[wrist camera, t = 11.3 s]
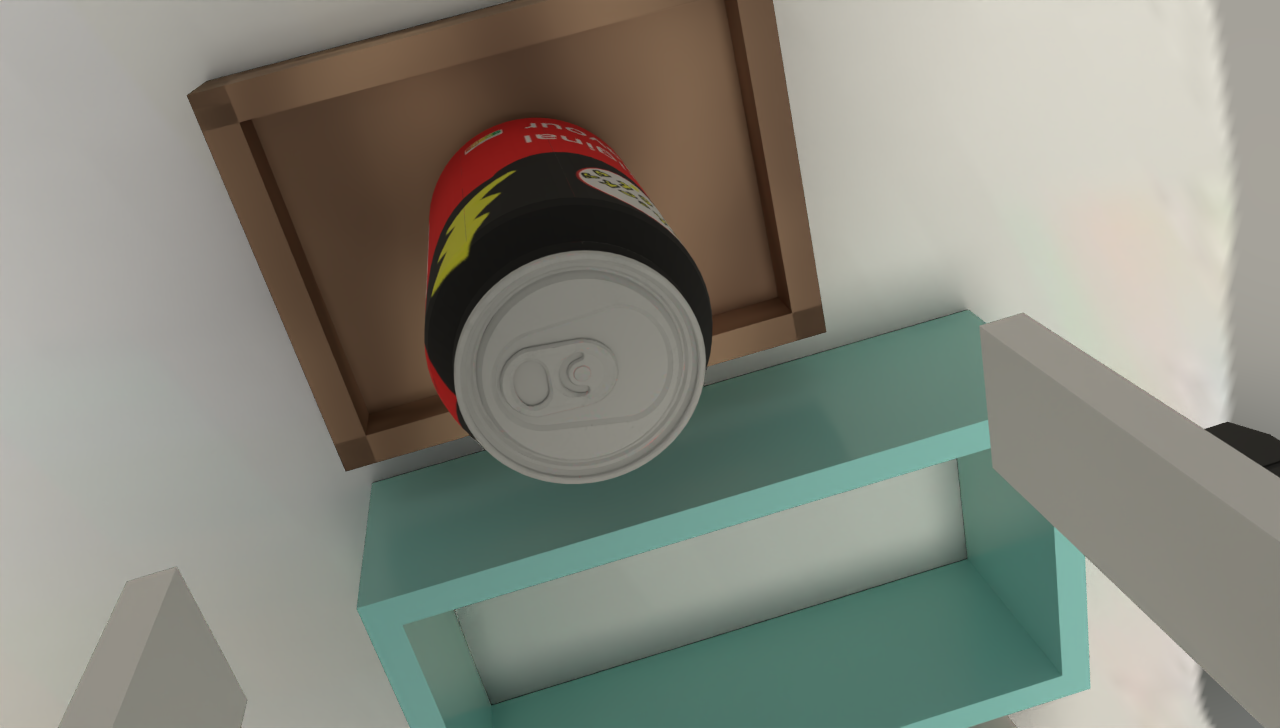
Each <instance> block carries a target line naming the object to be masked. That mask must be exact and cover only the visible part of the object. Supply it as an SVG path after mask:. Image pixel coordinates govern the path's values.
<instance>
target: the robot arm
mask: <svg viewBox="0 0 1280 728" xmlns="http://www.w3.org/2000/svg"><path fill="white" fill-rule="evenodd" d="M979 328H980V339H981V349H982V360H983V370H984V381H985V392H986V402H987V413H988V424H989V434H990V445H991V455H992V466H993V469H994V470H996V471H997V472H998V473H999V474H1000V475H1001V476H1002V477H1003V478H1004V479H1005V480H1006V481H1007V482H1008V483H1009V484H1010V485H1011V486H1012V487H1013V488H1014V489H1015V490H1016V491H1017V492H1019V493H1020V494H1021V495H1022V496H1023V497H1024V498H1025V499H1026V500H1027V501H1028V502H1029V503H1030V504H1031V505H1032V506H1033V507H1034V508H1035V509H1036V510H1037V511H1038V512H1039V513H1041V514H1042V515H1043V516H1044V517H1045V518H1046V519H1047V520H1048V521H1049V522H1050V523H1051V524H1052V525H1053V526H1054V527H1055V528H1056V529H1057V530H1058V531H1059V532H1060V533H1061V534H1062V535H1064V536H1065V537H1066V538H1067V539H1068V540H1069V541H1070V542H1071V543H1072V544H1073V545H1074V546H1075V547H1076V548H1077V549H1078V550H1079V551H1080V552H1081V553H1082V554H1083V555H1084V556H1086V557H1087V558H1088V559H1089V560H1090V561H1091V562H1092V563H1093V564H1094V565H1095V566H1096V567H1097V568H1098V569H1099V570H1100V571H1101V572H1102V573H1103V574H1104V575H1105V576H1106V577H1107V578H1109V579H1110V580H1111V581H1112V582H1113V583H1114V584H1115V585H1116V586H1117V587H1118V588H1119V589H1120V590H1121V591H1122V592H1123V593H1124V594H1125V595H1126V596H1127V597H1128V598H1129V599H1131V600H1132V601H1133V602H1134V603H1135V604H1136V605H1137V606H1138V607H1139V608H1140V609H1141V610H1142V611H1143V612H1144V613H1145V614H1146V615H1147V616H1148V617H1149V618H1150V619H1151V620H1152V621H1154V622H1155V623H1156V624H1157V625H1158V626H1159V627H1160V628H1161V629H1162V630H1163V631H1164V632H1165V633H1166V634H1167V635H1168V636H1169V637H1170V638H1171V639H1172V640H1173V641H1174V642H1176V643H1177V644H1178V645H1179V646H1180V647H1181V648H1182V649H1183V650H1184V651H1185V652H1186V653H1187V654H1188V655H1189V656H1190V657H1191V658H1192V659H1193V660H1194V661H1195V662H1196V663H1197V664H1199V665H1200V666H1201V667H1202V668H1203V669H1204V670H1205V671H1206V672H1207V673H1208V674H1209V675H1210V676H1211V677H1212V678H1213V679H1214V680H1215V681H1216V682H1217V683H1218V684H1219V685H1221V686H1222V687H1223V688H1224V689H1225V690H1226V691H1227V692H1228V693H1229V694H1230V695H1231V696H1232V697H1233V698H1234V699H1235V700H1236V701H1237V702H1238V703H1239V704H1240V705H1241V706H1243V707H1244V708H1245V709H1246V710H1247V711H1248V712H1249V713H1250V714H1251V715H1252V716H1253V717H1254V718H1255V719H1256V720H1257V721H1258V722H1259V723H1260V724H1261V725H1263V727H1265V728H1280V440H1278V439H1276V438H1275V437H1273V436H1271V435H1270V434H1266V433H1263V432H1259V431H1256V430H1253V429H1249V428H1246V427H1243V426H1240V425H1236V424H1233V423H1230V422H1226V423H1222V424H1219V425H1216V426H1213V427H1210V428H1206V429H1203V428H1202V427H1200V426H1198V425H1197V424H1195V423H1194V422H1192V421H1191V420H1189V419H1188V418H1186V417H1184V416H1183V415H1181V414H1180V413H1178V412H1177V411H1175V410H1174V409H1172V408H1170V407H1169V406H1167V405H1166V404H1164V403H1163V402H1161V401H1160V400H1158V399H1156V398H1155V397H1153V396H1152V395H1150V394H1149V393H1147V392H1146V391H1144V390H1143V389H1141V388H1139V387H1138V386H1136V385H1135V384H1133V383H1132V382H1130V381H1129V380H1127V379H1125V378H1124V377H1122V376H1121V375H1119V374H1118V373H1116V372H1115V371H1113V370H1111V369H1110V368H1108V367H1107V366H1105V365H1104V364H1102V363H1101V362H1099V361H1097V360H1096V359H1094V358H1093V357H1091V356H1090V355H1088V354H1087V353H1085V352H1083V351H1082V350H1080V349H1079V348H1077V347H1076V346H1074V345H1073V344H1071V343H1069V342H1068V341H1066V340H1065V339H1063V338H1062V337H1060V336H1059V335H1057V334H1056V333H1054V332H1052V331H1051V330H1049V329H1048V328H1046V327H1045V326H1043V325H1042V324H1040V323H1038V322H1037V321H1035V320H1034V319H1032V318H1031V317H1029V316H1028V315H1026V314H1024V313H1020V314H1017V315H1014V316H1010V317H1007V318H1004V319H1000V320H997V321H994V322H990V323H987V324H984V325H980V326H979ZM246 704H247V698H246V697H245V695H244V693H243V691H242V689H241V687H240V685H239V683H238V681H237V679H236V678H235V676H234V674H233V672H232V670H231V668H230V666H229V664H228V662H227V660H226V659H225V657H224V655H223V653H222V651H221V649H220V647H219V645H218V643H217V642H216V640H215V638H214V636H213V634H212V632H211V630H210V628H209V626H208V624H207V623H206V621H205V619H204V617H203V615H202V613H201V611H200V609H199V607H198V605H197V604H196V602H195V600H194V598H193V596H192V594H191V592H190V590H189V588H188V586H187V585H186V583H185V581H184V579H183V577H182V575H181V573H180V571H179V569H178V568H177V567H173V568H170V569H167V570H163V571H160V572H157V573H153V574H150V575H147V576H143V577H140V578H137V579H133V580H130V581H127V582H126V584H125V587H124V589H123V591H122V593H121V595H120V597H119V599H118V601H117V604H116V606H115V608H114V610H113V612H112V614H111V616H110V618H109V621H108V623H107V625H106V627H105V629H104V631H103V633H102V635H101V638H100V640H99V642H98V644H97V646H96V648H95V650H94V653H93V655H92V657H91V659H90V661H89V663H88V665H87V667H86V670H85V672H84V674H83V676H82V678H81V680H80V682H79V684H78V687H77V689H76V691H75V693H74V695H73V697H72V699H71V701H70V704H69V706H68V708H67V710H66V712H65V714H64V716H63V718H62V721H61V723H60V725H59V727H58V728H241V725H242V720H243V716H244V712H245V708H246Z"/></svg>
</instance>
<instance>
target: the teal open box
mask: <svg viewBox="0 0 1280 728" xmlns="http://www.w3.org/2000/svg"><path fill="white" fill-rule="evenodd" d="M984 324H987V323H985V322H984V321H983V320H981V319H980V318H979V317H977V316H976V315H975V314H973V313H972V312H971V311H970V310H966V311H962V312H959V313H955V314H952V315H948V316H945V317H941V318H938V319H935V320H931V321H928V322H924V323H921V324H917V325H914V326H911V327H907V328H904V329H900V330H897V331H893V332H890V333H887V334H883V335H880V336H876V337H873V338H869V339H866V340H863V341H859V342H856V343H852V344H849V345H845V346H842V347H838V348H835V349H832V350H828V351H825V352H821V353H818V354H814V355H811V356H808V357H804V358H801V359H797V360H794V361H790V362H787V363H784V364H780V365H777V366H773V367H770V368H766V369H763V370H760V371H756V372H753V373H749V374H746V375H742V376H739V377H735V378H732V379H729V380H725V381H722V382H718V383H715V384H711V385H708V386H705V387H703V388H702V392H701V395H700V398H699V401H698V404H697V406H696V408H695V410H694V412H693V414H692V416H691V418H690V420H689V421H688V423H687V424H686V426H685V427H684V429H683V430H682V431H681V433H680V434H679V435H678V436H677V437H676V439H675V440H674V441H673V442H672V443H671V444H670V445H669V446H668V447H667V448H666V449H665V450H663V451H662V452H661V453H660V454H659V455H657V456H656V457H655V458H653V459H652V460H650V461H649V462H647V463H646V464H644V465H642V466H640V467H639V468H637V469H635V470H633V471H631V472H628V473H626V474H624V475H621V476H618V477H615V478H612V479H608V480H604V481H599V482H594V483H585V484H561V483H552V482H546V481H542V480H538V479H534V478H531V477H529V476H526V475H523V474H521V473H519V472H517V471H515V470H512V469H511V468H509V467H507V466H506V465H504V464H502V463H501V462H500V461H498V460H497V459H496V458H494V457H493V456H492V455H491V454H490V453H489V452H487V451H486V450H485V451H481V452H478V453H475V454H471V455H468V456H464V457H461V458H457V459H454V460H450V461H447V462H444V463H440V464H437V465H433V466H430V467H426V468H423V469H420V470H416V471H413V472H409V473H406V474H402V475H399V476H396V477H392V478H389V479H385V480H382V481H378V482H375V483H372V488H371V496H370V504H369V512H368V520H367V528H366V537H365V545H364V553H363V561H362V569H361V577H360V585H359V594H358V602H357V610H358V613H359V615H360V617H361V619H362V622H363V624H364V626H365V628H366V631H367V633H368V635H369V637H370V639H371V642H372V644H373V646H374V648H375V651H376V653H377V655H378V657H379V659H380V662H381V664H382V666H383V668H384V671H385V673H386V675H387V677H388V680H389V682H390V684H391V686H392V688H393V691H394V693H395V695H396V697H397V700H398V702H399V704H400V706H401V709H402V711H403V713H404V715H405V717H406V720H407V722H408V724H409V726H410V728H968V727H971V726H974V725H978V724H981V723H984V722H987V721H990V720H993V719H996V718H999V717H1003V716H1006V715H1009V714H1012V713H1015V712H1018V711H1021V710H1025V709H1028V708H1031V707H1034V706H1037V705H1040V704H1043V703H1046V702H1050V701H1053V700H1056V699H1059V698H1062V697H1065V696H1068V695H1071V694H1075V693H1078V692H1081V691H1084V690H1087V689H1090V668H1089V643H1088V619H1087V594H1086V570H1085V556H1084V555H1083V554H1082V553H1081V552H1080V551H1079V550H1078V549H1077V548H1076V547H1075V546H1074V545H1073V544H1072V543H1071V542H1070V541H1069V540H1068V539H1067V538H1066V537H1065V536H1064V535H1062V534H1061V533H1060V532H1059V531H1058V530H1057V529H1056V528H1055V527H1054V526H1053V525H1052V524H1051V523H1050V522H1049V521H1048V520H1047V519H1046V518H1045V517H1044V516H1043V515H1042V514H1041V513H1039V512H1038V511H1037V510H1036V509H1035V508H1034V507H1033V506H1032V505H1031V504H1030V503H1029V502H1028V501H1027V500H1026V499H1025V498H1024V497H1023V496H1022V495H1021V494H1020V493H1019V492H1017V491H1016V490H1015V489H1014V488H1013V487H1012V486H1011V485H1010V484H1009V483H1008V482H1007V481H1006V480H1005V479H1004V478H1003V477H1002V476H1001V475H1000V474H999V473H998V472H997V471H996V470H994V469H993V466H992V455H991V445H990V434H989V424H988V413H987V402H986V392H985V381H984V370H983V360H982V349H981V339H980V328H979V326H980V325H984ZM956 458H957V463H958V472H959V482H960V491H961V501H962V511H963V520H964V530H965V539H966V549H967V558H968V559H966V560H962V561H959V562H956V563H953V564H949V565H946V566H943V567H940V568H936V569H933V570H930V571H927V572H923V573H920V574H917V575H914V576H910V577H907V578H904V579H901V580H897V581H894V582H891V583H888V584H884V585H881V586H878V587H875V588H871V589H868V590H865V591H862V592H858V593H855V594H852V595H849V596H845V597H842V598H839V599H836V600H832V601H829V602H826V603H823V604H820V605H816V606H813V607H810V608H807V609H803V610H800V611H797V612H794V613H790V614H787V615H784V616H781V617H777V618H774V619H771V620H768V621H764V622H761V623H758V624H755V625H751V626H748V627H745V628H742V629H738V630H735V631H732V632H729V633H725V634H722V635H719V636H716V637H712V638H709V639H706V640H703V641H699V642H696V643H693V644H690V645H686V646H683V647H680V648H677V649H673V650H670V651H667V652H664V653H660V654H657V655H654V656H651V657H647V658H644V659H641V660H638V661H634V662H631V663H628V664H625V665H621V666H618V667H615V668H612V669H608V670H605V671H602V672H599V673H595V674H592V675H589V676H586V677H582V678H579V679H576V680H573V681H569V682H566V683H563V684H560V685H557V686H553V687H550V688H547V689H544V690H540V691H537V692H534V693H531V694H527V695H524V696H521V697H518V698H514V699H511V700H508V701H505V702H501V703H498V704H495V705H492V706H491V704H490V701H489V699H488V696H487V694H486V691H485V689H484V686H483V684H482V681H481V679H480V676H479V673H478V671H477V668H476V666H475V663H474V661H473V658H472V656H471V653H470V651H469V648H468V646H467V643H466V641H465V638H464V636H463V633H462V630H461V628H460V625H459V623H458V620H457V618H456V615H455V613H454V609H457V608H461V607H464V606H467V605H471V604H474V603H477V602H481V601H484V600H487V599H491V598H494V597H497V596H501V595H504V594H507V593H511V592H514V591H517V590H521V589H524V588H527V587H530V586H534V585H537V584H540V583H544V582H547V581H550V580H554V579H557V578H560V577H564V576H567V575H570V574H574V573H577V572H580V571H584V570H587V569H590V568H594V567H597V566H600V565H604V564H607V563H610V562H614V561H617V560H620V559H623V558H627V557H630V556H633V555H637V554H640V553H643V552H647V551H650V550H653V549H657V548H660V547H663V546H667V545H670V544H673V543H677V542H680V541H683V540H687V539H690V538H693V537H697V536H700V535H703V534H707V533H710V532H713V531H717V530H720V529H723V528H726V527H730V526H733V525H736V524H740V523H743V522H746V521H750V520H753V519H756V518H760V517H763V516H766V515H770V514H773V513H776V512H780V511H783V510H786V509H790V508H793V507H796V506H800V505H803V504H806V503H810V502H813V501H816V500H820V499H823V498H826V497H829V496H833V495H836V494H839V493H843V492H846V491H849V490H853V489H856V488H859V487H863V486H866V485H869V484H873V483H876V482H879V481H883V480H886V479H889V478H893V477H896V476H899V475H903V474H906V473H909V472H913V471H916V470H919V469H923V468H926V467H929V466H932V465H936V464H939V463H942V462H946V461H949V460H952V459H956Z"/></svg>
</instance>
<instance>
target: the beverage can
mask: <svg viewBox="0 0 1280 728" xmlns="http://www.w3.org/2000/svg"><path fill="white" fill-rule="evenodd" d="M712 328H713V322H712V309H711V304H710V298H709V294H708V291H707V288H706V284H705V282H704V280H703V277H702V275H701V272H700V271H699V269H698V267H697V265H696V263H695V261H694V260H693V258H692V257H691V256H690V254H689V253H688V251H687V250H686V248H685V247H684V246H683V244H682V243H681V241H680V240H679V239H678V237H677V236H676V234H675V233H674V232H673V230H672V229H671V228H670V226H669V225H668V223H667V222H666V221H665V219H664V218H663V217H662V215H661V214H660V212H659V211H658V210H657V208H656V207H655V205H654V204H653V203H652V201H651V200H650V199H649V197H648V196H647V194H646V193H645V192H644V190H643V189H642V187H641V186H640V185H639V183H638V182H637V181H636V179H635V178H634V176H633V175H632V174H631V172H630V171H629V169H628V168H627V167H626V165H625V164H624V163H623V161H622V160H621V159H620V157H619V156H618V155H617V154H616V153H615V151H614V150H613V149H612V148H611V147H609V146H608V145H607V144H606V143H605V142H604V141H603V140H601V139H600V138H599V137H597V136H596V135H594V134H592V133H591V132H589V131H587V130H585V129H583V128H581V127H579V126H577V125H574V124H571V123H568V122H564V121H561V120H556V119H550V118H523V119H516V120H512V121H508V122H504V123H501V124H498V125H495V126H493V127H491V128H489V129H487V130H485V131H483V132H481V133H480V134H478V135H476V136H475V137H474V138H472V139H471V140H469V141H468V142H467V143H466V144H465V145H463V146H462V147H461V148H460V149H459V150H458V151H457V152H456V153H455V155H454V156H453V157H452V158H451V159H450V161H449V162H448V164H447V165H446V166H445V168H444V170H443V171H442V173H441V175H440V177H439V179H438V181H437V184H436V186H435V189H434V192H433V196H432V200H431V205H430V213H429V233H428V257H427V281H426V304H425V328H424V345H425V356H426V361H427V366H428V370H429V373H430V376H431V379H432V382H433V384H434V387H435V389H436V391H437V393H438V395H439V397H440V399H441V400H442V402H443V404H444V405H445V407H446V408H447V409H448V411H449V412H450V414H451V415H452V416H453V418H454V419H455V420H456V421H457V423H458V424H459V425H460V426H461V427H462V428H463V429H464V430H465V431H466V432H467V433H468V434H469V435H470V436H471V437H473V438H474V439H475V440H477V441H478V442H479V443H480V444H481V445H482V447H483V448H484V449H485V450H486V451H487V452H489V453H490V454H491V455H492V456H493V457H494V458H496V459H497V460H498V461H500V462H501V463H502V464H504V465H506V466H507V467H509V468H511V469H512V470H515V471H517V472H519V473H521V474H523V475H526V476H529V477H531V478H534V479H538V480H542V481H546V482H552V483H561V484H585V483H594V482H599V481H604V480H608V479H612V478H615V477H618V476H621V475H624V474H626V473H628V472H631V471H633V470H635V469H637V468H639V467H640V466H642V465H644V464H646V463H647V462H649V461H650V460H652V459H653V458H655V457H656V456H657V455H659V454H660V453H661V452H662V451H663V450H665V449H666V448H667V447H668V446H669V445H670V444H671V443H672V442H673V441H674V440H675V439H676V437H677V436H678V435H679V434H680V433H681V431H682V430H683V429H684V427H685V426H686V424H687V423H688V421H689V420H690V418H691V416H692V414H693V412H694V410H695V408H696V406H697V404H698V401H699V398H700V395H701V392H702V388H703V384H704V378H705V372H706V369H707V366H708V362H709V357H710V353H711V345H712Z"/></svg>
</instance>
